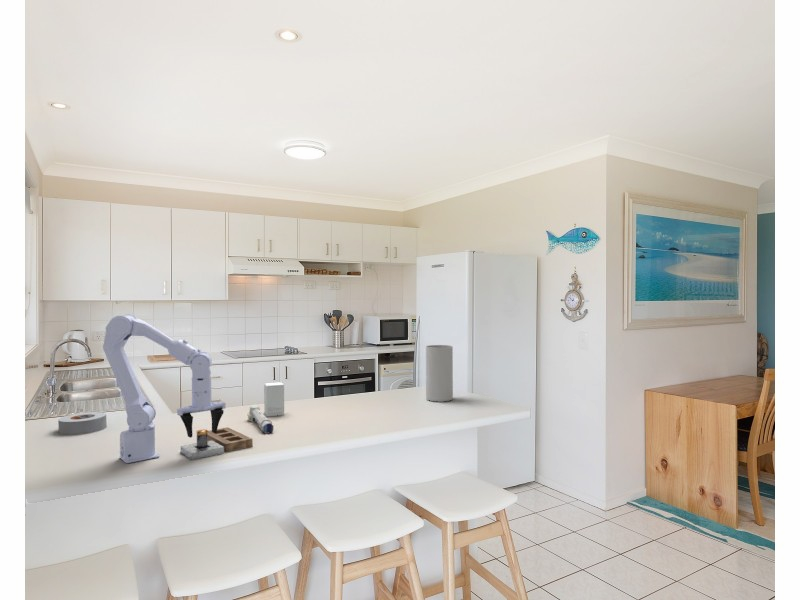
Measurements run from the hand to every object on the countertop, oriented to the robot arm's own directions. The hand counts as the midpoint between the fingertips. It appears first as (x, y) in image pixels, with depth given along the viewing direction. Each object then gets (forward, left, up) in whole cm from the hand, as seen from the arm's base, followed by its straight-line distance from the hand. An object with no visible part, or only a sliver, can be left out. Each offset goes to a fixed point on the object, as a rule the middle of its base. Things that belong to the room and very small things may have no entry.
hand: (202, 434), depth 167 cm
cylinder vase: (+114, +9, -6) cm, 115 cm away
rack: (+10, +6, -6) cm, 13 cm away
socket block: (0, 0, -6) cm, 6 cm away
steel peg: (0, 0, -6) cm, 6 cm away
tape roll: (-23, +59, -6) cm, 64 cm away
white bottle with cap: (+29, +20, -6) cm, 36 cm away
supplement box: (+42, +34, -6) cm, 55 cm away
